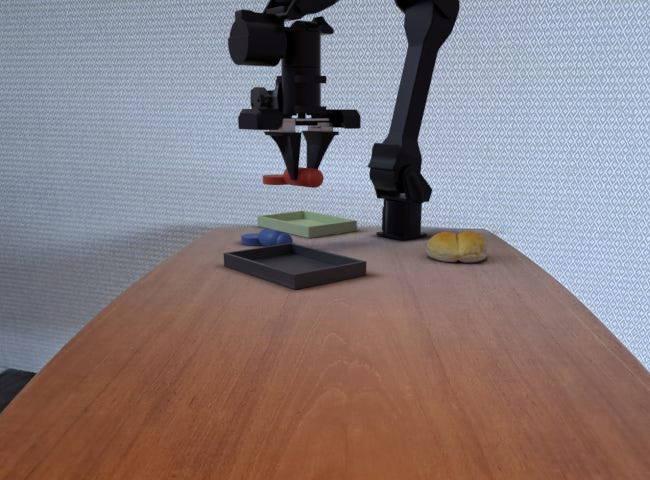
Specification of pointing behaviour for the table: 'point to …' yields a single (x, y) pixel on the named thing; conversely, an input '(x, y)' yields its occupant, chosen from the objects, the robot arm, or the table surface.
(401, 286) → the table surface
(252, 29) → the robot arm
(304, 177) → the red elongated piece
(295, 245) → the front tray
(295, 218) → the back tray
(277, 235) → the blue elongated piece
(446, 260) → the bread roll
